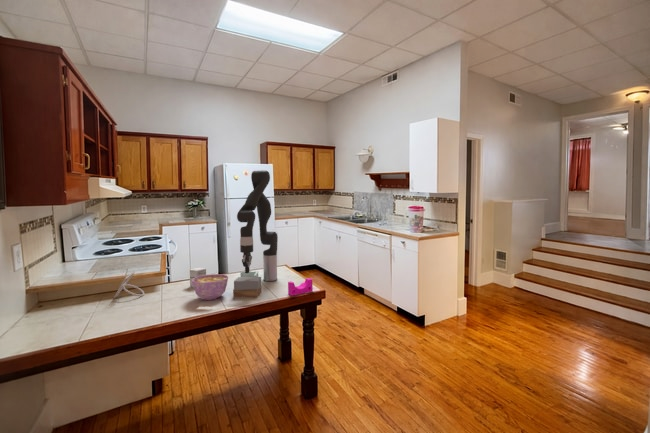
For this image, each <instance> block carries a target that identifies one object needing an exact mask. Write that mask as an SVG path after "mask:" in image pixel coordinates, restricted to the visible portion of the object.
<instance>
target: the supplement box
mask: <svg viewBox="0 0 650 433" xmlns="http://www.w3.org/2000/svg"><path fill="white" fill-rule="evenodd" d="M203 275H207V269H206V268H205V267H195V268H191V269H189V287H190V288H193V289H194V287H193V283H192V279H193V278H195V277H199V276H203Z"/></svg>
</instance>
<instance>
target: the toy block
mask: <svg viewBox="0 0 650 433" xmlns="http://www.w3.org/2000/svg"><path fill="white" fill-rule="evenodd" d="M313 289H314V287H313V279H312V278H310V277H308V278H305V280H304V282H301V283H300V284H299V285H297V286H296V285H295V282H293V281H292V280H291V281H287V294H288V295H289V296H296V295H302V294H306V293H310V292H313Z"/></svg>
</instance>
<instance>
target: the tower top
mask: <svg viewBox="0 0 650 433" xmlns="http://www.w3.org/2000/svg"><path fill="white" fill-rule="evenodd" d="M260 286H261V287H262V276H258V277H241V276H238V277H236V279H235V280H234V281H233V289H234V290H255V289H259V288H260Z"/></svg>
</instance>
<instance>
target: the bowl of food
mask: <svg viewBox="0 0 650 433" xmlns="http://www.w3.org/2000/svg"><path fill="white" fill-rule="evenodd" d="M228 280H229V275H227V274H221V273H220V274H219V273H217V274H216V273H213V274H212V273H211V274H206V275H203V276H199V277H195V278H193V279H192V283H193V287H194V288H193V287H192V288H193V290H194V292H195V294H196V296H197V297H199V298H200V299H202V300H205V301H212V300H216V299H218V298H219V297H221V296H222V295H224V293H226V289H227V285H228Z"/></svg>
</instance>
